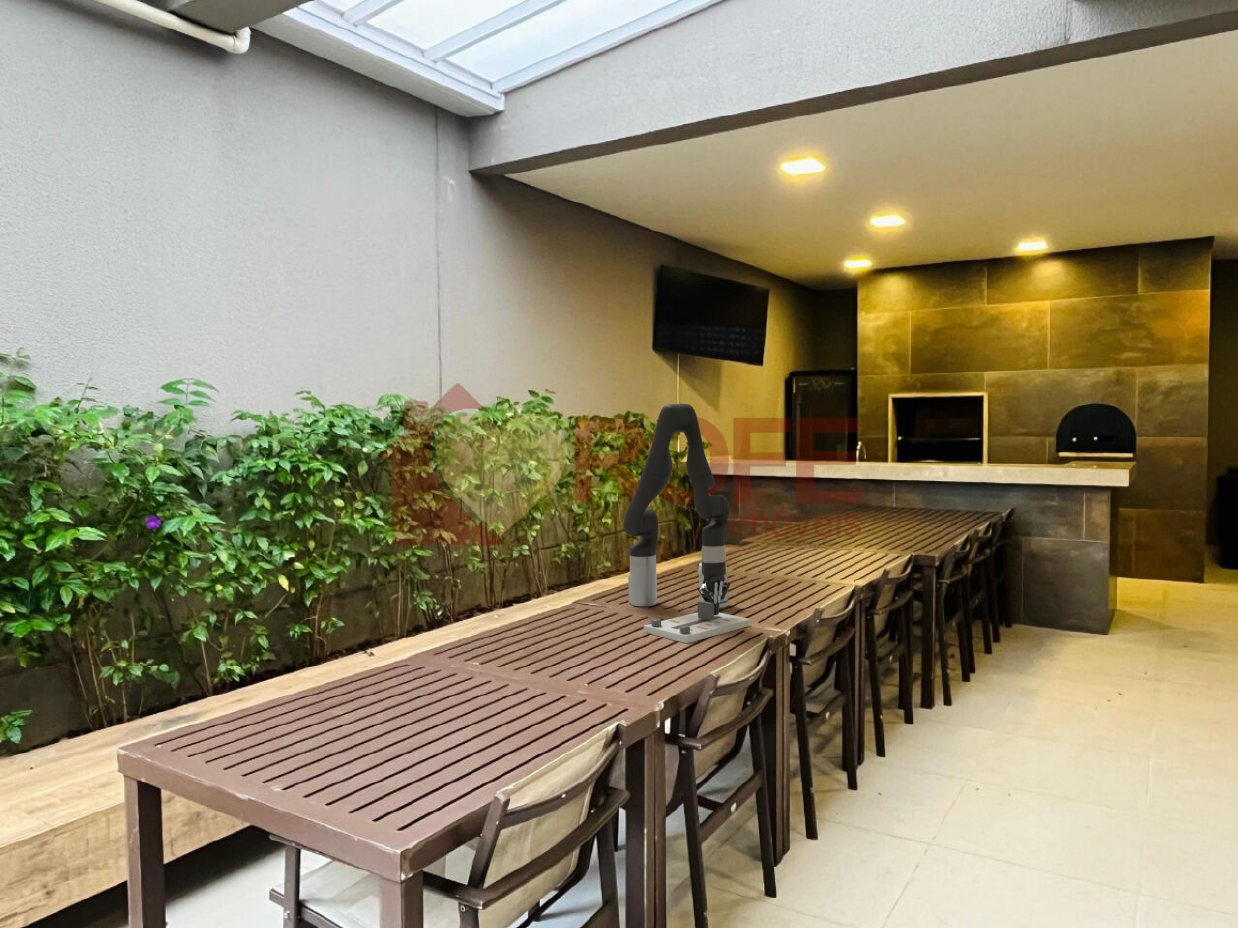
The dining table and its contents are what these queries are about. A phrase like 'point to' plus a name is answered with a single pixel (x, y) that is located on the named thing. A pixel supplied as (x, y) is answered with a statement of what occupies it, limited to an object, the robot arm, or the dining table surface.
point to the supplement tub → (722, 603)
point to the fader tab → (706, 610)
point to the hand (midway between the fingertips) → (714, 614)
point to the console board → (695, 627)
